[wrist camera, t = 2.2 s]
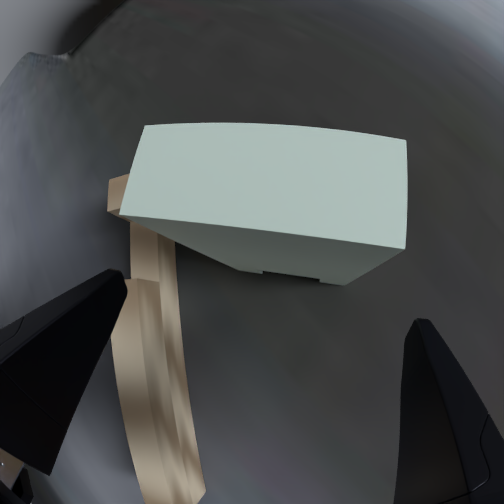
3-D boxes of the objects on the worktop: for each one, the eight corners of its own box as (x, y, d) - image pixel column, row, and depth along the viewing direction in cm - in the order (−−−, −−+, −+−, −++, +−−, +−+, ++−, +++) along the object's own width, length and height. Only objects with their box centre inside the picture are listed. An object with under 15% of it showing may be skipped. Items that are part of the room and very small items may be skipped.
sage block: (343, 285, 18) (404, 248, 6) (238, 270, 19) (118, 214, 7) (348, 244, 18) (405, 140, 6) (245, 231, 19) (145, 125, 7)
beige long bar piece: (206, 490, 17) (180, 527, 12) (181, 487, 17) (151, 521, 12) (173, 199, 21) (136, 171, 16) (148, 204, 21) (109, 179, 16)
